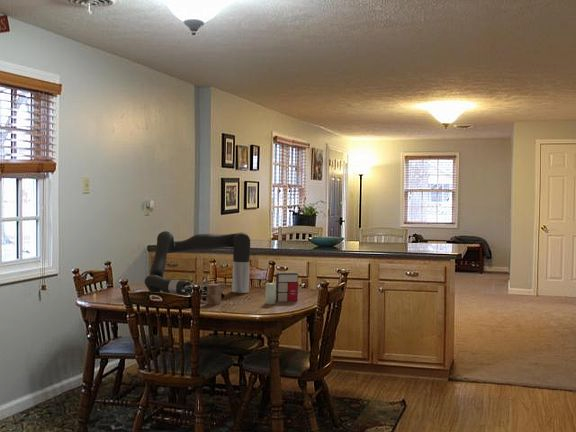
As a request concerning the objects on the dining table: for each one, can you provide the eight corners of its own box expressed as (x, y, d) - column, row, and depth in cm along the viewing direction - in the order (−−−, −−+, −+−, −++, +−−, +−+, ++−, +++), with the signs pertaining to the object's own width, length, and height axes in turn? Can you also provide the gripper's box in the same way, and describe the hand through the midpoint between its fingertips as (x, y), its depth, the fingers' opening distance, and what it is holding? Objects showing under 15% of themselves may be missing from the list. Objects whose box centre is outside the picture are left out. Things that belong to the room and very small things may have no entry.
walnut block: (206, 304, 325) (207, 284, 324) (212, 303, 329) (212, 283, 329) (215, 305, 322) (216, 285, 322) (220, 304, 327) (221, 284, 326)
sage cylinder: (264, 302, 333) (265, 282, 332) (274, 302, 333) (275, 283, 333) (265, 304, 328) (265, 284, 327) (275, 304, 328) (275, 284, 328)
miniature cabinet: (277, 303, 338) (278, 274, 337) (275, 301, 342) (276, 272, 341) (297, 302, 340) (298, 273, 340) (295, 301, 345) (296, 272, 344)
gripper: (187, 292, 341) (214, 295, 334) (171, 296, 328) (198, 300, 321) (187, 278, 340) (214, 281, 333) (171, 281, 327) (198, 284, 320)
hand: (206, 290), depth 327 cm, fingers open, 8 cm apart
